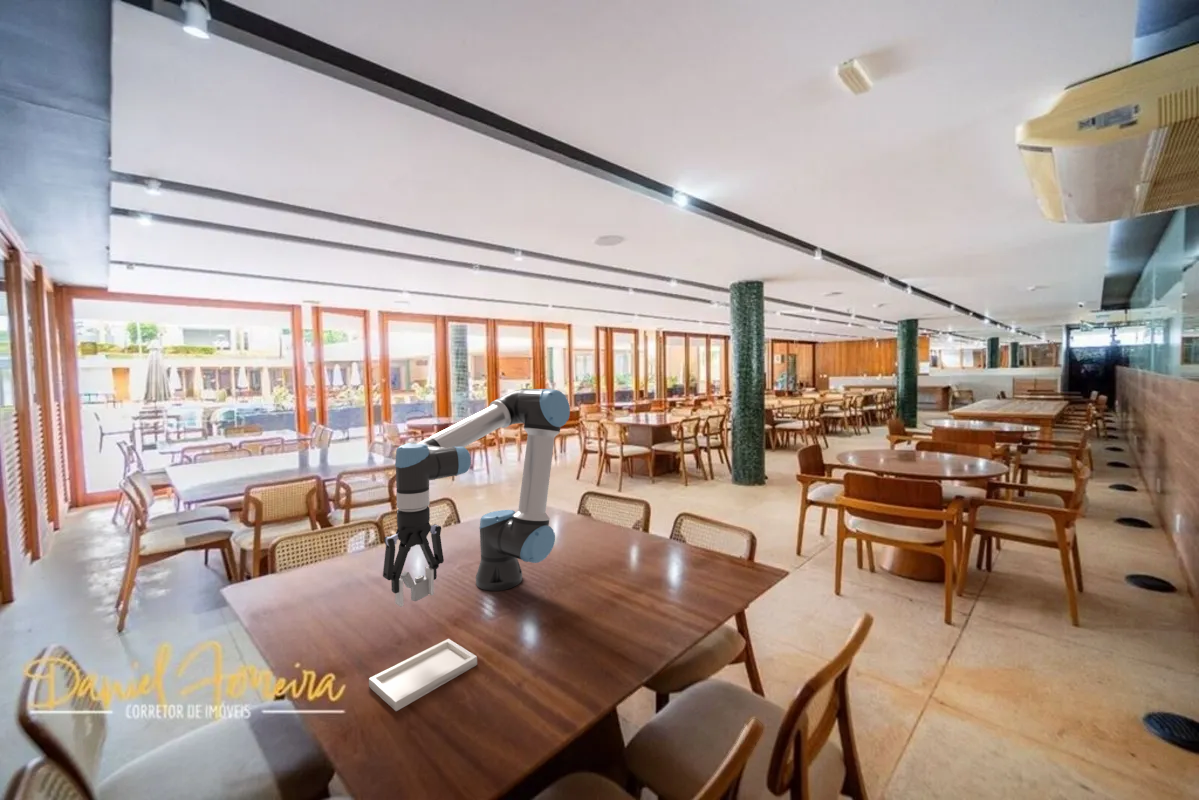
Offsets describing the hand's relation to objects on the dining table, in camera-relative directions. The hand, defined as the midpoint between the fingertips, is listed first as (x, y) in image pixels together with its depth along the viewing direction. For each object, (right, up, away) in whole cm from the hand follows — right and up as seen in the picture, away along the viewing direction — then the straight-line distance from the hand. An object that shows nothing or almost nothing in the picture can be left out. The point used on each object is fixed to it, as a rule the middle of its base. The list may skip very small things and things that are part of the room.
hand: (415, 598), depth 118 cm
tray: (+6, -14, -8) cm, 17 cm away
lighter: (0, 0, 0) cm, 1 cm away
